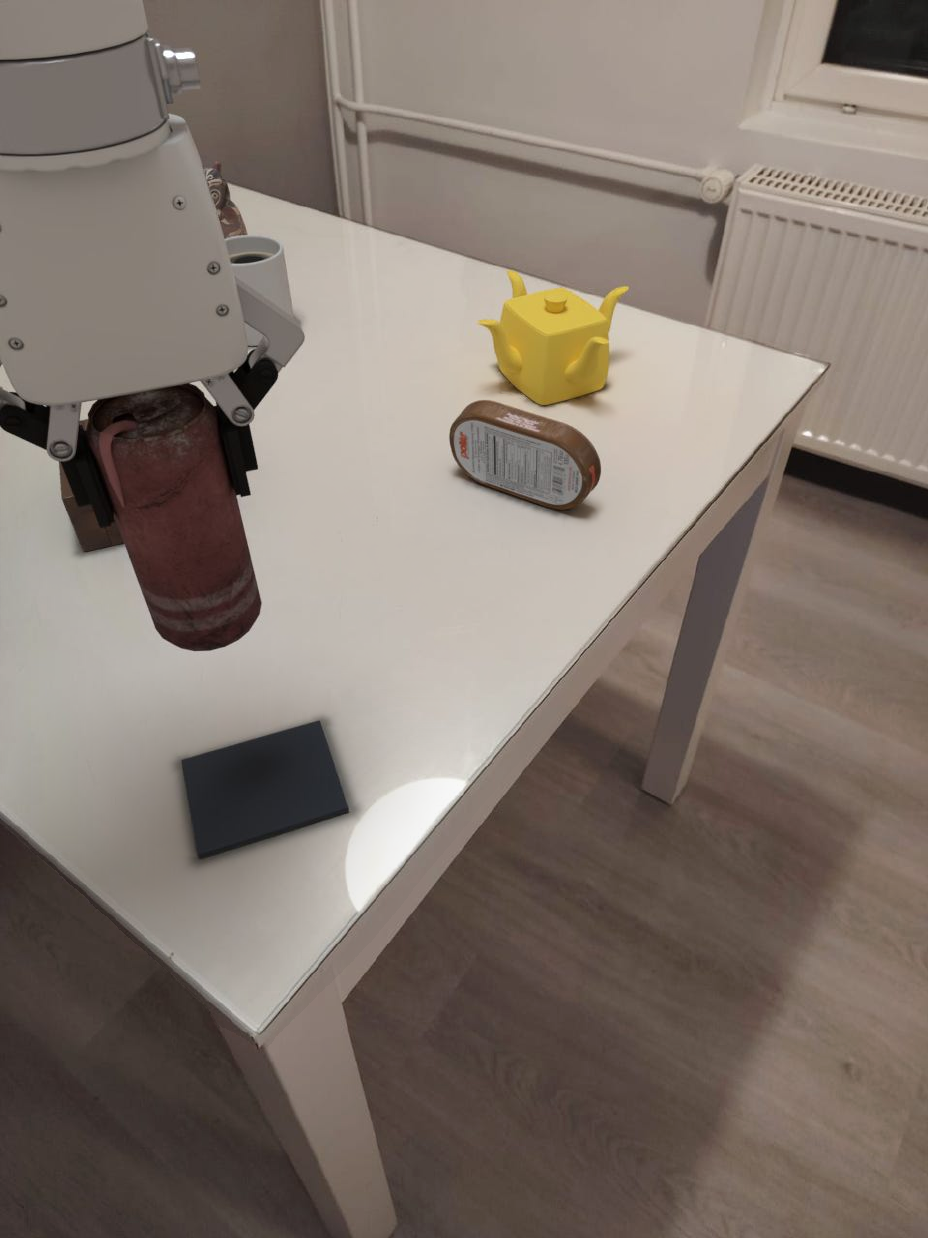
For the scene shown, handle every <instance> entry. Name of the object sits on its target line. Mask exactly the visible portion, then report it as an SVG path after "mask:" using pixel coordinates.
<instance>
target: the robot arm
mask: <svg viewBox="0 0 928 1238" xmlns="http://www.w3.org/2000/svg"><path fill="white" fill-rule="evenodd" d="M148 29H149V25H148V21H147V16H146V10H145V6H144V2H143V0H0V368H1V366H3V369H4V372H5V374H6V376H7V379H8V380H9V383H10V385H11V386H12V388H13V389H14V391H8V390H6V389H3V386H0V428H1V429H2V431H5V432H6V433H8V434H11V435H13V436H15V437H17V438H19V439H22V440H23V441H26V442H28V443H29V444H32V445H35V446H36V447H39V448H40V449H43V450H45V451H46V453H47V455H48V456H49V457H50V459H52V460H53V461H56V462H59V461H60V462H61V465H62V467H63V470H64V472H65V475H66V477H67V480H68V483H69V485H70V488H71V490H72V493H73V495H74V498H75V500H76V503H77V505H78V507H82V506H87V505H91V506H92V508H93V511H94V513H95V516H96V519H97V521H98V524H99V526H100V528H103V527H107V526H111V523H113V522H115V520H114V514H113V510H112V507H111V505H110V502H109V499H108V496H107V494H106V491H105V488H104V485H103V483H102V480H101V477H100V474H99V471H98V469H97V466H96V463H95V460H94V458H93V455H92V452H91V449H90V448H89V446H88V443H87V437H86V430H85V431H84V429H83V426H82V425H80V423H79V421H80V420H81V413H82V406H83V405H82V403H87V402H95V401H97V400H99V399H105V398H111V397H116V396H122V395H128V394H133V393H139V392H144V391H150V390H155V389H160V388H166V387H171V386H177V385H182V384H187V383H190V384H192V383H196V382H197V383H198V382H200V383H201V384H202V385H203V387H204V388H205V389H206V391H207V392H208V393H209V395H210V396H211V397H212V398H213V401H215V405H213V406H214V407H215V410H216V413H217V416H218V420H219V427H220V431H221V435H222V440H223V444H224V448H225V453H226V457H227V461H228V465H229V470H230V474H231V478H232V482H233V487H234V490H235V493H236V496H237V497H238V496H240V498H245V497H249V496H251V495H252V493H251V487H250V484H249V479H248V475H247V474H248V472H252V471H257V470H259V464H258V459H257V454H256V449H255V444H254V440H253V435H252V429H251V426H250V424H251V423H252V422H253V421H254V419H255V410H256V409H257V407H258V406H259V404H261V402H262V400H264V398H265V397H266V396H267V394H268V393H269V392H270V391H271V389H272V388H273V386H274V385H275V384H276V382H277V381H278V378H279V373H280V372H281V371H282V369H283V368H286V366H287V365H288V364H289V363H290V361H291V360H292V358H293V357H294V356H295V355H296V354H297V352H298V351H299V350H300V348H301V347H302V346H303V344H304V342H305V338H306V336H305V332H304V331H303V329H302V327H301V325H300V323H299V322H298V320H297V319H296V318H295V317H294V318H293V317H292V316H290V315H289V314H288V313H286V312H285V311H283V310H282V309H280V308H279V307H278V306H276V305H275V304H273V303H272V302H271V301H269V300H268V299H266V298H265V297H263V296H262V295H261V294H259V293H258V292H256V291H255V290H254V289H252V288H251V287H249V286H248V285H247V284H245V283H244V282H242V281H241V280H239V279H238V278H237V277H235V276H234V274H233V270H232V266H231V262H230V258H229V254H228V250H227V246H226V242H225V239H224V235H223V231H222V228H221V224H220V220H219V217H218V214H217V211H216V207H215V204H214V201H213V198H212V195H211V192H210V189H209V186H208V183H207V179H206V175H205V171H204V168H205V167H204V165H203V162H202V159H201V155H200V154H199V150H198V148H197V145H196V143H195V140H194V138H193V136H192V135H193V134H192V133H191V131H190V129H189V126H188V124H187V121H186V119H184V118H183V117H181V116H180V115H176V114H173V113H169V109H168V105H170V104H171V105H172V104H174V99H173V96H181V95H182V94H183V91H191V90H199V89H200V90H201V89H202V88H201V87H202V86H201V78H200V77H201V76H200V71H199V67H198V62H197V58H196V54H195V51H194V49H193V46H192V47H191V46H190V47H179V48H173V46H172V44H165V45H162V43H161V42H160V41H159V38H157V37H152V35H151V33H150V32H149V30H148ZM244 322H245V323H246V324H248V325H249V326H251V327H252V328H254V329H255V330H257V331H258V332H260V333H261V334H263V337H262V339H261V340H260V342H259V345H258V346H256V348H253V349H252V350H250V351H249V346H248V343H247V335H246V329H245V324H244Z"/></svg>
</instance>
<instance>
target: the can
mask: <svg viewBox="0 0 928 1238" xmlns="http://www.w3.org/2000/svg"><path fill="white" fill-rule="evenodd" d="M205 395H206V394H205V393H204V391H203V390H201V388H199V387H198V386H197V385H196V384H192V383H187V384H182V385H177V386H171V387H166V388H160V389H155V390H150V391H144V392H139V393H133V394H128V395H122V396H116V397H111V398H105V399H99V400H95V401H94V402H93V403H92V404H91V406H90V408H89V410H88V413H87V419H88V424H87V429H86V437H87V443H88V446H89V448H90V449H91V452H92V455H93V458H94V460H95V463H96V466H97V469H98V471H99V474H100V477H101V480H102V483H103V485H104V488H105V491H106V494H107V496H108V499H109V502H110V505H111V507H112V510H113V514H114V517H115V520H116V522H117V525H118V528H119V531H120V533H121V536H122V539H123V541H124V543H123V545H124V547H125V549H126V553H127V555H128V557H129V561H130V563H131V566H132V569H133V571H134V574H135V577H136V580H137V582H138V585H139V587H140V590H141V593H142V596H143V599H144V601H145V604H146V607H147V610H148V613H149V615H150V617H151V621H152V623H153V626H154V629H155V630H156V632H157V633H158V634H159V636H160V637H161V638H162V640H164V641H166V642H168V643H170V644H171V645H173V646H175V647H177V648H180V649H182V650H186V651H190V652H191V651H192V652H210V651H215V650H218V649H222V648H226V647H228V646H230V645H232V644H234V643H236V642H238V641H240V639H242V638H244V636H245V635H247V634H248V633H249V632H250V631H251V629H252V628H253V627H254V624H255V623H256V621H257V620H258V618H259V616H260V614H261V610H262V598H261V594H260V593H261V592H260V590H259V586H258V581H257V577H256V572H255V568H254V564H253V560H252V555H251V551H250V547H249V542H248V540H247V534H246V531H245V527H244V521H243V517H242V514H241V509H240V504H239V501H238V495H237V496H236V493H235V490H234V487H233V482H232V478H231V474H230V470H229V465H228V461H227V457H226V453H225V448H224V444H223V440H222V435H221V431H220V427H219V420H218V416H217V413H216V410H215V407H214V406H215V405H214V404H212V402H211V401H209V399H208V398H207V397H206V396H205Z"/></svg>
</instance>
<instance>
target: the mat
mask: <svg viewBox="0 0 928 1238" xmlns="http://www.w3.org/2000/svg"><path fill="white" fill-rule="evenodd" d="M180 764H181V769H182V774H183V779H184V786H185V791H186V792H185V793H186V797H187V803H188V809H189V814H190V820H191V826H192V831H193V832H192V833H193V837H194V843H195V848H196V854H197V856H198V859H199V860H202V859H205V858H208V857H210V856H214V855H217V854H220V853H224V852H227V851H230V850H234V849H236V848H241V847H242V846H247V845H249V844H252V843H255V842H259V841H262V840H265V839H268V838H271V837H274V836H278V835H280V834H283V833H287V832H289V831H293V830H296V829H300V828H303V827H306V826H309V825H313V824H315V823H319V822H322V821H324V820H329V819H332V818H334V817H338V816H340V815H343V814H347V813H349V812H350V809H349V806H348V805H349V804H348V801H347V799H346V796H345V793H344V790H343V786H342V784H341V780H340V778H339V775H338V772H337V769H336V768H337V767H336V766H335V763H334V759H333V757H332V753H331V751H330V747H329V744H328V742H327V738H326V735H325V732H324V729H323V726H322V723H321V720H319V719H318V720H315V721H312V722H308V723H304V724H301V725H298V726H293V727H290V728H287V729H284V730H281V731H277V732H273V733H269V734H266V735H263V736H259V737H255V738H252V739H248V740H245V741H242V742H239V743H236V744H231V745H228V746H225V747H221V748H218V749H214V750H211V751H207V752H204V753H201V754H197V755H193V756H190V757H187V758H186V757H185V758H183V759H181V760H180Z"/></svg>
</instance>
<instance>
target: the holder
mask: <svg viewBox="0 0 928 1238" xmlns="http://www.w3.org/2000/svg"><path fill="white" fill-rule="evenodd" d="M79 423H80V425H82V426H83V429H84V431H85V430H86V429H87V424H88V418H86V419H80V421H79ZM58 469H59V470H58V471H59V484H60V497H61V498H60V499H61V501H62V503H63V506H64V508H65V511H66V513H67V516H68V518H69V520H70V523H71V526H72V528H73V531H74V533H75V535H76V537H77V540H78V542H79V545H80V547H81V550H82V552H83V553H86V552H90V551H95V550H100V549H104V548H108V547H112V546H118V545H122V544H124V541H123V539H122V536H121V533H120V531H119V528H118V525H117V522H116V520H115V517H114V520H115V522H113V523H111V526H107V527H103V528H100V526H99V524H98V521H97V519H96V516H95V513H94V511H93V508H92V506H91V505H87V506H82V507H78V505H77V503H76V500H75V498H74V495H73V493H72V490H71V488H70V485H69V483H68V480H67V477H66V475H65V472H64V470H63V467H62V465H61V462H60V461H58Z"/></svg>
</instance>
